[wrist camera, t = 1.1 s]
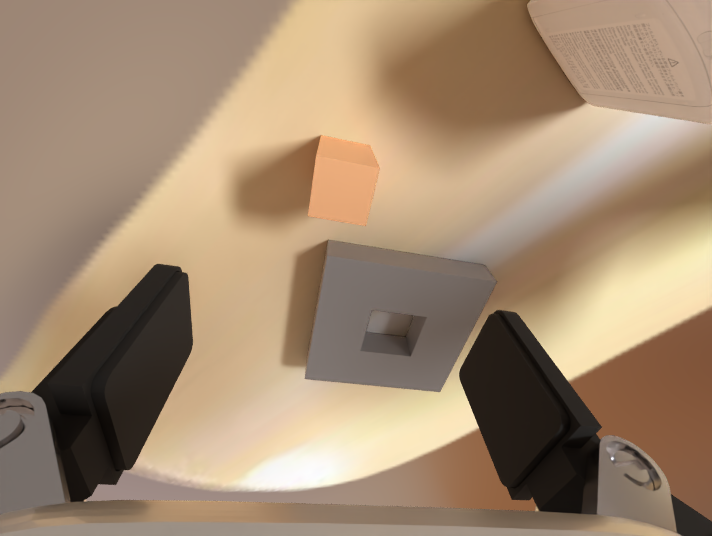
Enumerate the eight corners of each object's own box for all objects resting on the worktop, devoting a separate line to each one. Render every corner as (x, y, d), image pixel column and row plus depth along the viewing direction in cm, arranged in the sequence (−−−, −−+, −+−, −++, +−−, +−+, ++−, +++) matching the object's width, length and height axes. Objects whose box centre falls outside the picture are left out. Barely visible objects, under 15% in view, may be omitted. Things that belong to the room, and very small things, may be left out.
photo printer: (639, 66, 24) (871, 65, 14) (586, 114, 26) (758, 146, 15) (570, -61, 20) (820, -199, 10) (512, 4, 22) (675, -53, 11)
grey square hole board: (484, 265, 33) (497, 281, 30) (433, 371, 41) (440, 392, 38) (328, 239, 30) (327, 255, 28) (306, 358, 39) (304, 378, 36)
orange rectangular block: (370, 145, 26) (379, 168, 20) (360, 192, 28) (365, 226, 22) (321, 135, 26) (316, 155, 20) (314, 184, 28) (307, 216, 22)
